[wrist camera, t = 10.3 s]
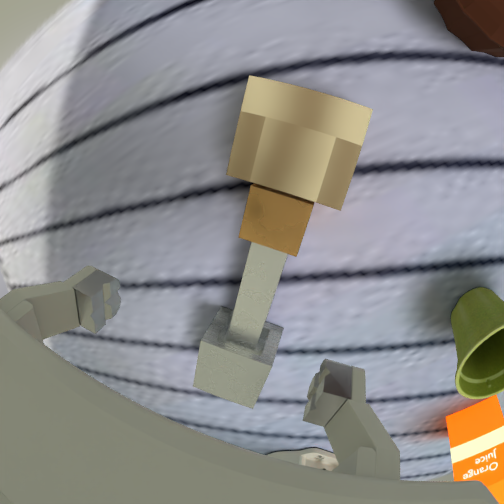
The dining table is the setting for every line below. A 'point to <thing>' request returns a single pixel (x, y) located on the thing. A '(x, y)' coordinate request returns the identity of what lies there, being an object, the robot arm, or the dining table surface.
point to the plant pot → (479, 343)
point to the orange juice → (479, 445)
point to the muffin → (475, 23)
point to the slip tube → (265, 256)
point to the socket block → (298, 141)
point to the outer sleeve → (235, 361)
